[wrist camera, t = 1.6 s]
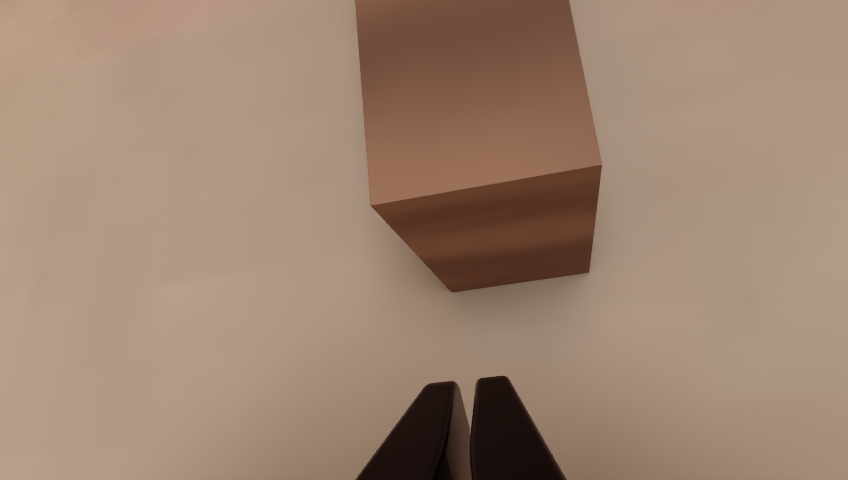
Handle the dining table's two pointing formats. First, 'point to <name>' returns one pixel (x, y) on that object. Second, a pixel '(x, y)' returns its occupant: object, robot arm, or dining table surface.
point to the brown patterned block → (480, 136)
